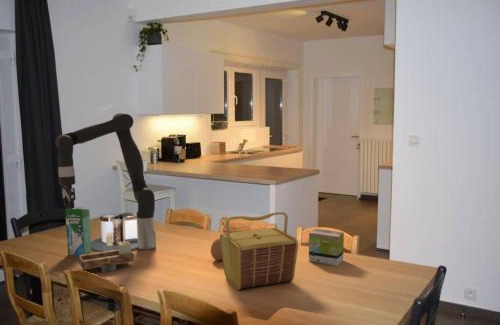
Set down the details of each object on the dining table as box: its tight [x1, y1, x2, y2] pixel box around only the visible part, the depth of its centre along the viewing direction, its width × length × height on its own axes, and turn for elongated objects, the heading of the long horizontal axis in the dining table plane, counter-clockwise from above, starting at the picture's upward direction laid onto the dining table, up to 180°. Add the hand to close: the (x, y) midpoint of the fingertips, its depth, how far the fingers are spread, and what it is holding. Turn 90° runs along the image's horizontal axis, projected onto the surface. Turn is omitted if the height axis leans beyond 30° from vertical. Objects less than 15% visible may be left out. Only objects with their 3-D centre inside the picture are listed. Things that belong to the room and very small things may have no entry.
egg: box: [210, 238, 223, 262], centre depth 242 cm, size 8×8×11 cm
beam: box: [77, 248, 135, 274], centre depth 234 cm, size 24×14×6 cm, turn 117°
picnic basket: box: [219, 211, 299, 291], centre depth 213 cm, size 29×26×30 cm
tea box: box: [308, 228, 345, 267], centre depth 239 cm, size 15×10×15 cm, turn 62°
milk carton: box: [64, 206, 92, 256], centre depth 257 cm, size 9×9×25 cm
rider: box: [117, 241, 132, 255], centre depth 237 cm, size 5×5×7 cm
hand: (69, 206), depth 243 cm, fingers open, 8 cm apart
